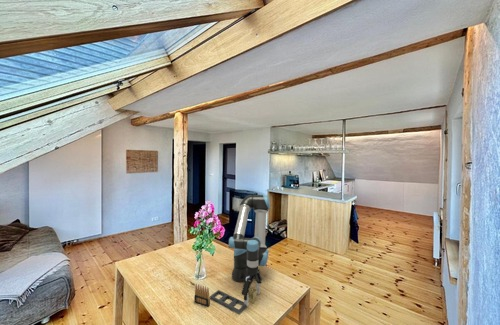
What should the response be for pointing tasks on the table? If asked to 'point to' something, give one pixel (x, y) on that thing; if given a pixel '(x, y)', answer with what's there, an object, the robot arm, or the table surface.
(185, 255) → the table surface
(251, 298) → the block
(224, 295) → the grey slotted plate
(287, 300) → the table surface
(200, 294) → the ammunition clip
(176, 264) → the table surface
